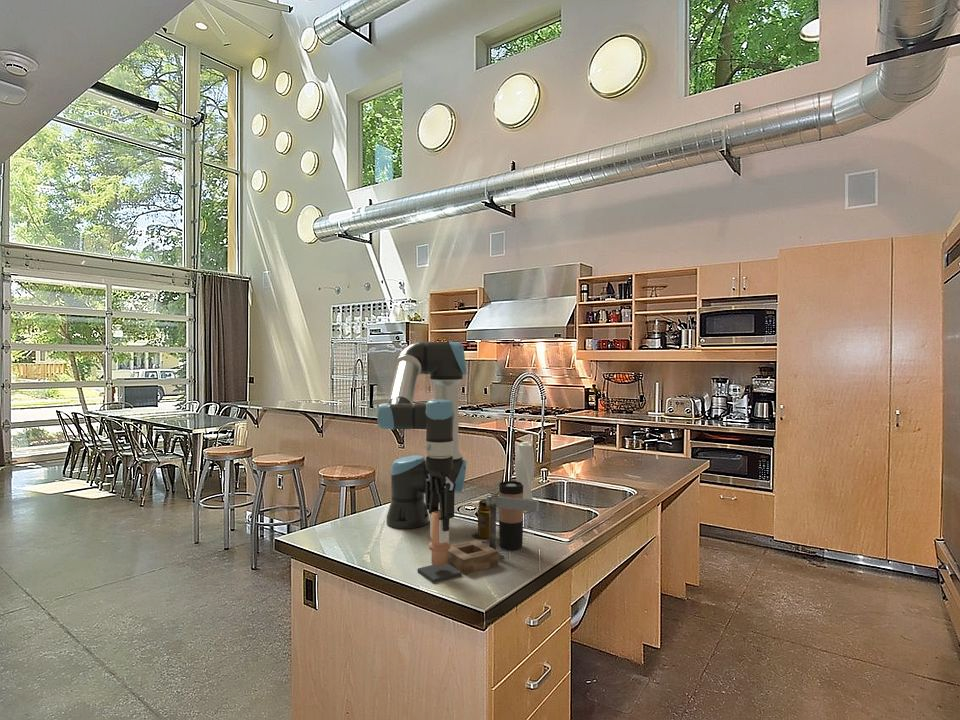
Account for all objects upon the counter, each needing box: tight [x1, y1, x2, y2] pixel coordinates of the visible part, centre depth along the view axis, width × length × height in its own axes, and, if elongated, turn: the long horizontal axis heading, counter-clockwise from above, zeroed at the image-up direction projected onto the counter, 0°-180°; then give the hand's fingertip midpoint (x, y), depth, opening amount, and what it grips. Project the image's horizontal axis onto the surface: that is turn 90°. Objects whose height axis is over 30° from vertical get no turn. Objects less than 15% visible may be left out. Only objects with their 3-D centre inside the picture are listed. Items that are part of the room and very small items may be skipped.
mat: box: [417, 563, 463, 584], centre depth 159 cm, size 9×9×1 cm
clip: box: [486, 494, 540, 513], centre depth 169 cm, size 4×16×3 cm, turn 68°
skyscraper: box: [514, 438, 536, 515], centre depth 219 cm, size 8×8×28 cm
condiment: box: [467, 498, 499, 543], centre depth 189 cm, size 7×8×12 cm
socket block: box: [447, 507, 505, 575], centre depth 168 cm, size 12×16×15 cm
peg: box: [428, 511, 451, 566], centre depth 159 cm, size 6×6×14 cm
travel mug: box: [498, 480, 524, 552], centre depth 181 cm, size 8×8×20 cm
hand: (439, 539), depth 159 cm, fingers closed on peg, 4 cm apart
